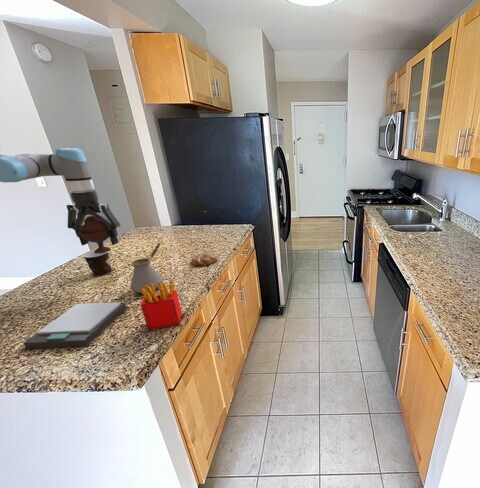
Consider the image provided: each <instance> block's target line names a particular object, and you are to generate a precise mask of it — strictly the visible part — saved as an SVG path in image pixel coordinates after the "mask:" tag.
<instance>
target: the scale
mask: <svg viewBox="0 0 480 488" xmlns="http://www.w3.org/2000/svg"><path fill="white" fill-rule="evenodd" d="M126 310H127V305H126V303H124V302H122V303H121V301H118V302H114V301H113V302H91V303H76V304H74V305H73V306H72V307H71V308H69V309H67V310H66V311H65V312H64V313H62V314H61V315H59V316H58V317H56V318H55V319H53V321H51V322H49V323H48V324H47V325H46V326H44V327H43V328H41V329H40V330H39V331H37V332H36V333H34V335H32V336H31V337H30V338H28V339H26V340H25V341H23V342H22V344H23V346H24V347H25V349H26V350H33V349H36V350H37V349H38V350H39V349H55V348H57V349H58V348H77V347H88V345H90V344H91V343H92V342H93V341H94V340H95V339H96V338H97V337H98V336H100V334H102V332H103V331H104V330H105V329H107V328H108V327H109V326H110V325H111V324H112V323H113V322H114V321H115V320H116V319H117V318H118V317H120V316H121V314H123V313H124V312H125V311H126Z"/></svg>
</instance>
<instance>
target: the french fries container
mask: <svg viewBox="0 0 480 488" xmlns="http://www.w3.org/2000/svg"><path fill="white" fill-rule="evenodd" d="M150 286H151V287H149V286H148V285H146V286H145V288H146V291H145V289H141V292H142V293H143V294H142V296H143V299H142V301H141V303H140V309H141V311H142V314H143V319H144V321H145V324H146V327H147V330H148V331H154V330H158V329H162V328H168V327H172V326H177V325H178V326H179V325H180V324H181V321H182V316H183V313H182V308H181V307H182V306H181V303H180V298H179V295H178V291H177V289H175V285H174V280H170V281H169V284H168V287H169V288H168V287H167V284H166V283H162V284H161V282H158V287H159V288H158V291H159V294H156V290H155V288H154V284H150ZM168 291H169V292H168Z"/></svg>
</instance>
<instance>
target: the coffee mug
mask: <svg viewBox="0 0 480 488" xmlns="http://www.w3.org/2000/svg"><path fill="white" fill-rule="evenodd" d="M94 251H95V250H92V251H88V252H86V253H85V254H84V255H83V258H84V259H85V262H86V263H87V266H88V268H89V270H91V272H92V274H93V275H94V277H95V276H96V277H100V276H105V275H107V274H110V273H111V272H112V266H111V260H110V255H109V251H108V252H105V253H94Z"/></svg>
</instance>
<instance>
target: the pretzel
mask: <svg viewBox="0 0 480 488" xmlns="http://www.w3.org/2000/svg"><path fill="white" fill-rule="evenodd" d="M217 260H218V258H217V257H216V256H215V255H214V254H212V253H211V254H210V253H199V254H196V255H194V256H192V258H191V264H193V266H195V267H202V266H209V265H211V264H214V263H216V262H217Z"/></svg>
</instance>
